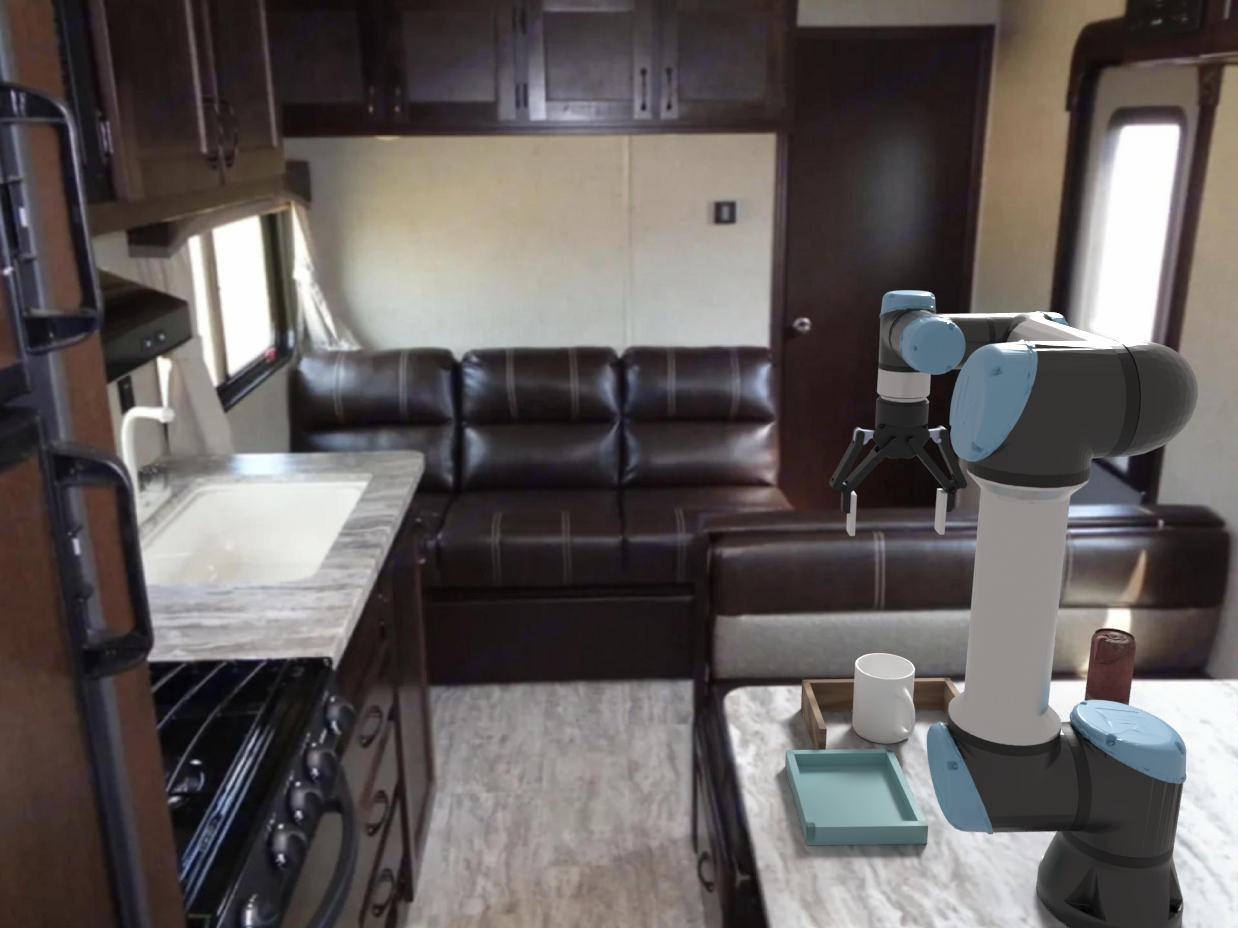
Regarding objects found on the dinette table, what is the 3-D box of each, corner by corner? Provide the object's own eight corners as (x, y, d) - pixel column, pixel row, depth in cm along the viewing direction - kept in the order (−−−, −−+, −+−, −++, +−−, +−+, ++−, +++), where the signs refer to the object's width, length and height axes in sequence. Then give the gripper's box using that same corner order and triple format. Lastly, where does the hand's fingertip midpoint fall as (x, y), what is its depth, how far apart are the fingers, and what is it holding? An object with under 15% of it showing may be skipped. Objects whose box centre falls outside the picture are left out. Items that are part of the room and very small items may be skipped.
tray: (927, 843, 130) (928, 825, 129) (807, 845, 130) (807, 826, 129) (890, 764, 147) (891, 748, 146) (785, 766, 147) (785, 750, 146)
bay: (979, 758, 148) (981, 726, 147) (818, 760, 148) (819, 728, 147) (947, 706, 163) (949, 677, 161) (801, 708, 163) (802, 679, 162)
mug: (886, 761, 148) (889, 693, 145) (841, 722, 159) (843, 658, 156) (936, 750, 151) (941, 683, 148) (889, 712, 161) (892, 649, 159)
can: (1072, 714, 160) (1082, 631, 156) (1102, 705, 162) (1112, 623, 158) (1105, 733, 154) (1115, 647, 151) (1135, 723, 157) (1146, 638, 153)
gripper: (978, 390, 157) (968, 523, 162) (813, 392, 157) (809, 525, 162) (996, 400, 149) (984, 539, 155) (823, 403, 150) (818, 541, 155)
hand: (894, 532), depth 159 cm, fingers open, 13 cm apart
